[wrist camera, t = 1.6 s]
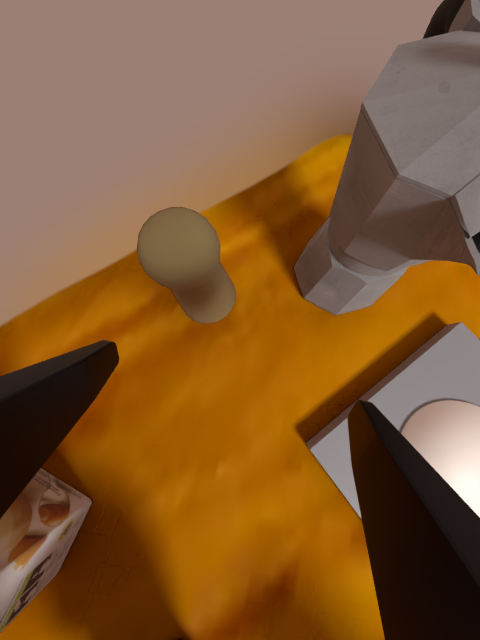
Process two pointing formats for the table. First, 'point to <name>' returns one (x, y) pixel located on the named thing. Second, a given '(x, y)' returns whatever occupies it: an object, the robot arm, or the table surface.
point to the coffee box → (36, 540)
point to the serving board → (422, 414)
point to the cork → (187, 262)
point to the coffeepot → (406, 171)
